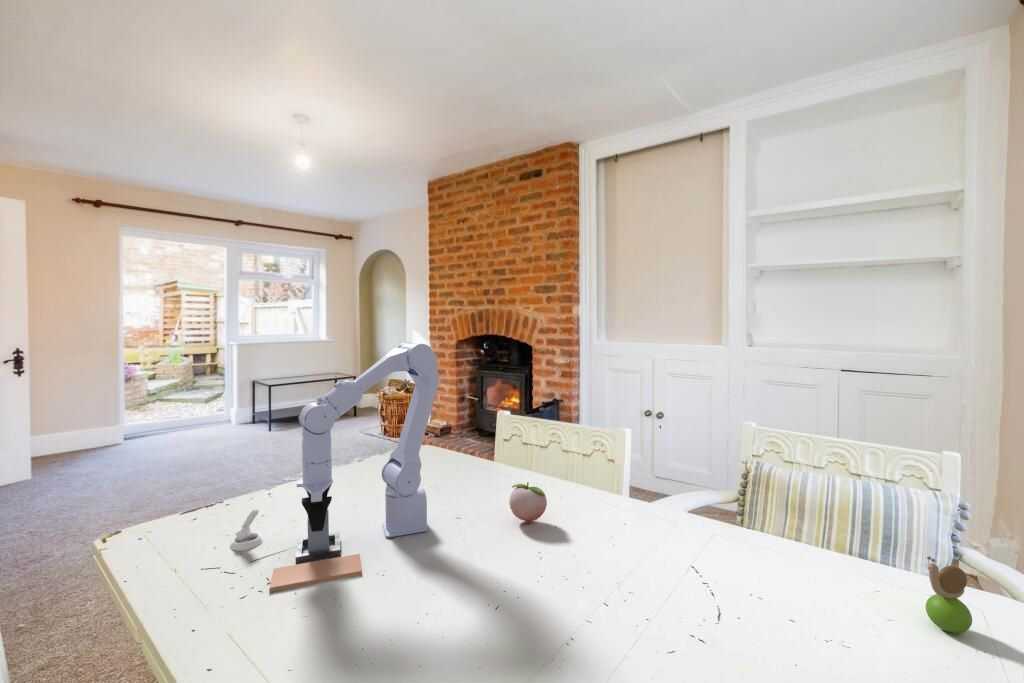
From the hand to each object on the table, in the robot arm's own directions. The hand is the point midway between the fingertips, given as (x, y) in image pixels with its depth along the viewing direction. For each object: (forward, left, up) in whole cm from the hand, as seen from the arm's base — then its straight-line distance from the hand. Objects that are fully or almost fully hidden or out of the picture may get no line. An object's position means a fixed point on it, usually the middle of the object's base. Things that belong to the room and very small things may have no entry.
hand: (317, 523), depth 99 cm
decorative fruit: (-47, +3, -6) cm, 48 cm away
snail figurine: (-94, +63, -6) cm, 114 cm away
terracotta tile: (0, +9, -6) cm, 11 cm away
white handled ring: (+15, -10, -6) cm, 19 cm away
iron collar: (0, 0, -6) cm, 6 cm away
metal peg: (0, 0, -6) cm, 6 cm away
